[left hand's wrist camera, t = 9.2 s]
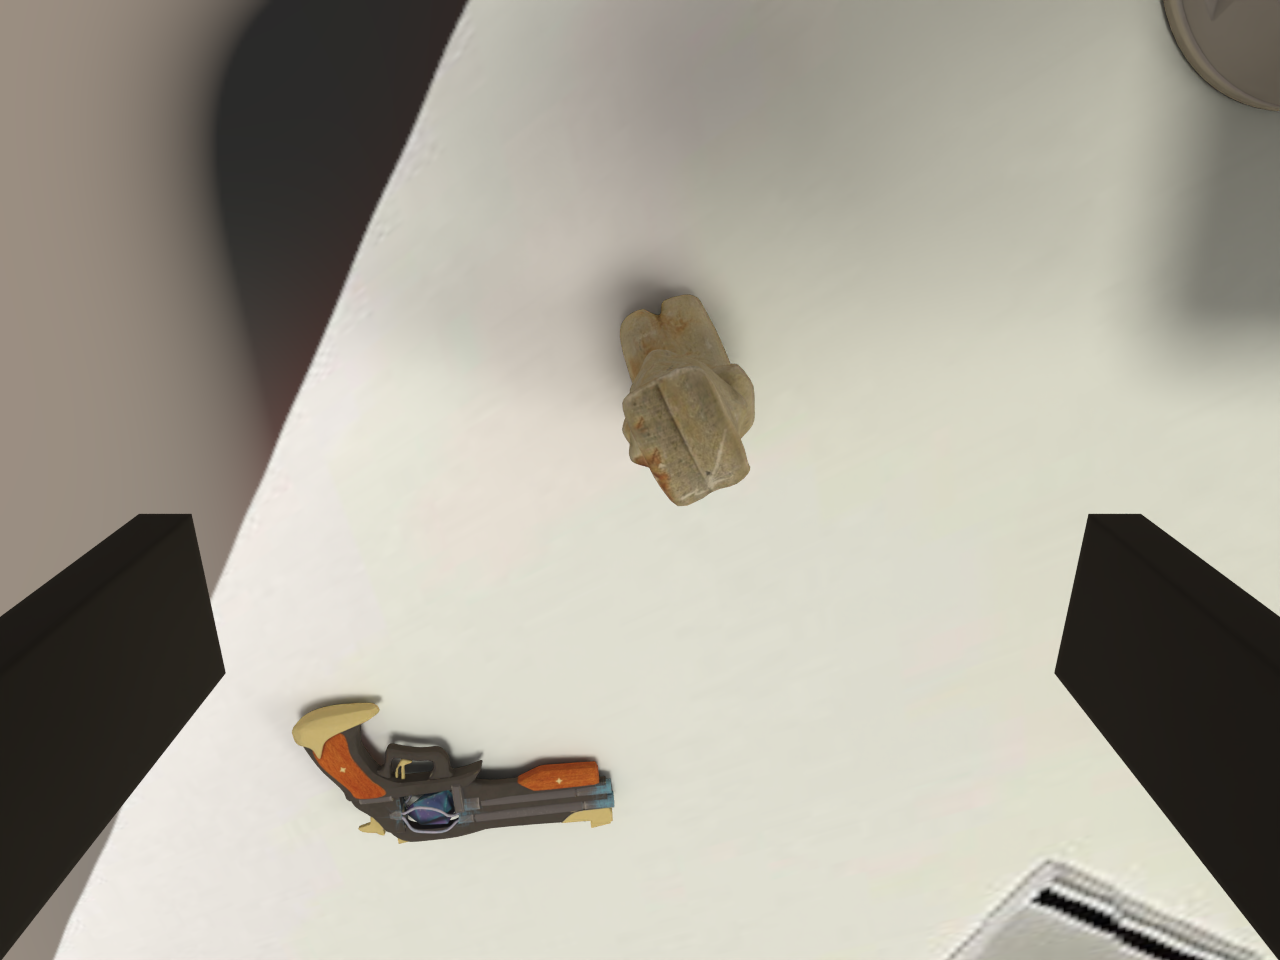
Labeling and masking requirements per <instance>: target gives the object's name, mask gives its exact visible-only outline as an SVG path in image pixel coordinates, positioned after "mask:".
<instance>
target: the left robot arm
mask: <svg viewBox="0 0 1280 960" xmlns="http://www.w3.org/2000/svg"><path fill="white" fill-rule="evenodd" d="M1163 2H1164V7H1165V12H1166V15H1167V18H1168V22H1169V25H1170V28H1171V31H1172V33H1173V35H1174V37H1175V40H1176V42H1177V44H1178V46H1179V48H1180V49H1181V51H1182V53H1183V54H1184V56H1185V58H1186V59H1187V60H1188V62H1189V63H1190V64H1191V66H1192V67H1193V68H1194V70H1195V71H1196V72H1197V73H1198V74H1199V75H1200V76H1201V77H1202V78H1203V79H1204V80H1205V81H1206V82H1208V83H1209V84H1210V85H1211V86H1213V87H1214V88H1215V89H1216V90H1218V91H1220V92H1221V93H1223V94H1225V95H1226V96H1228V97H1230V98H1232V99H1234V100H1236V101H1239V102H1241V103H1243V104H1246V105H1250V106H1253V107H1256V108H1261V109H1267V110H1273V111H1280V0H1163ZM224 675H225V668H224V663H223V659H222V654H221V649H220V645H219V640H218V635H217V631H216V626H215V621H214V617H213V612H212V607H211V603H210V598H209V593H208V589H207V584H206V579H205V575H204V570H203V565H202V561H201V556H200V551H199V547H198V542H197V537H196V533H195V528H194V523H193V519H192V514H138V515H137V516H136V517H134V518H133V519H132V520H130V521H129V522H128V523H126V524H125V525H124V526H122V527H121V528H119V529H118V530H117V531H115V532H114V533H113V534H111V535H110V536H109V537H107V538H106V539H105V540H103V541H102V542H101V543H99V544H98V545H97V546H95V547H94V548H93V549H91V550H90V551H89V552H87V553H86V554H84V555H83V556H82V557H80V558H79V559H78V560H76V561H75V562H74V563H72V564H71V565H70V566H68V567H67V568H66V569H64V570H63V571H61V572H60V573H59V574H57V575H56V576H55V577H53V578H52V579H51V580H49V581H48V582H47V583H45V584H44V585H43V586H41V587H40V588H39V589H37V590H36V591H34V592H33V593H32V594H30V595H29V596H28V597H26V598H25V599H24V600H22V601H21V602H20V603H18V604H17V605H16V606H14V607H13V608H12V609H10V610H9V611H7V612H6V613H5V614H3V615H2V616H1V617H0V960H2V959H3V957H4V956H5V955H6V953H7V952H8V951H9V950H10V948H11V947H12V946H13V945H14V943H15V942H16V941H17V939H18V938H19V937H20V936H21V934H22V933H23V932H24V930H25V929H26V928H27V927H28V925H29V924H30V923H31V921H32V920H33V919H34V918H35V916H36V915H37V914H38V913H39V911H40V910H41V909H42V907H43V906H44V905H45V903H46V902H47V901H48V900H49V898H50V897H51V896H52V895H53V893H54V892H55V891H56V890H57V888H58V887H59V886H60V884H61V883H62V882H63V881H64V879H65V878H66V877H67V875H68V874H69V873H70V872H71V870H72V869H73V868H74V866H75V865H76V864H77V863H78V861H79V860H80V859H81V857H82V856H83V855H84V854H85V852H86V851H87V850H88V849H89V847H90V846H91V845H92V843H93V842H94V841H95V840H96V838H97V837H98V836H99V834H100V833H101V832H102V831H103V829H104V828H105V827H106V826H107V824H108V823H109V822H110V820H111V819H112V818H113V817H114V815H115V814H116V813H117V811H118V810H119V809H120V808H121V806H122V805H123V804H124V802H125V801H126V800H127V799H128V797H129V796H130V795H131V794H132V792H133V791H134V790H135V788H136V787H137V786H138V785H139V783H140V782H141V781H142V779H143V778H144V777H145V776H146V774H147V773H148V772H149V770H150V769H151V768H152V767H153V765H154V764H155V763H156V762H157V760H158V759H159V758H160V756H161V755H162V754H163V753H164V751H165V750H166V749H167V747H168V746H169V745H170V744H171V742H172V741H173V740H174V739H175V737H176V736H177V735H178V733H179V732H180V731H181V730H182V728H183V727H184V726H185V724H186V723H187V722H188V721H189V719H190V718H191V717H192V715H193V714H194V713H195V712H196V710H197V709H198V708H199V707H200V705H201V704H202V703H203V701H204V700H205V699H206V698H207V696H208V695H209V694H210V692H211V691H212V690H213V689H214V687H215V686H216V685H217V683H218V682H219V681H220V680H221V678H222V677H223V676H224ZM1055 675H1056V676H1057V677H1058V678H1059V680H1060V681H1061V682H1062V683H1063V685H1064V686H1065V687H1066V689H1067V690H1068V691H1069V692H1070V694H1071V695H1072V696H1073V698H1074V699H1075V700H1076V701H1077V703H1078V704H1079V705H1080V707H1081V708H1082V709H1083V710H1084V712H1085V713H1086V714H1087V715H1088V717H1089V718H1090V719H1091V721H1092V722H1093V723H1094V724H1095V726H1096V727H1097V728H1098V730H1099V731H1100V732H1101V733H1102V735H1103V736H1104V737H1105V739H1106V740H1107V741H1108V742H1109V744H1110V745H1111V746H1112V747H1113V749H1114V750H1115V751H1116V753H1117V754H1118V755H1119V756H1120V758H1121V759H1122V760H1123V762H1124V763H1125V764H1126V765H1127V767H1128V768H1129V769H1130V771H1131V772H1132V773H1133V774H1134V776H1135V777H1136V778H1137V779H1138V781H1139V782H1140V783H1141V785H1142V786H1143V787H1144V788H1145V790H1146V791H1147V792H1148V794H1149V795H1150V796H1151V797H1152V799H1153V800H1154V801H1155V802H1156V804H1157V805H1158V806H1159V808H1160V809H1161V810H1162V811H1163V813H1164V814H1165V815H1166V817H1167V818H1168V819H1169V820H1170V822H1171V823H1172V824H1173V826H1174V827H1175V828H1176V829H1177V831H1178V832H1179V833H1180V834H1181V836H1182V837H1183V838H1184V840H1185V841H1186V842H1187V843H1188V845H1189V846H1190V847H1191V849H1192V850H1193V851H1194V852H1195V854H1196V855H1197V856H1198V858H1199V859H1200V860H1201V861H1202V863H1203V864H1204V865H1205V866H1206V868H1207V869H1208V870H1209V872H1210V873H1211V874H1212V875H1213V877H1214V878H1215V879H1216V881H1217V882H1218V883H1219V884H1220V886H1221V887H1222V888H1223V890H1224V891H1225V892H1226V893H1227V895H1228V896H1229V897H1230V898H1231V900H1232V901H1233V902H1234V904H1235V905H1236V906H1237V907H1238V909H1239V910H1240V911H1241V913H1242V914H1243V915H1244V916H1245V918H1246V919H1247V920H1248V921H1249V923H1250V924H1251V925H1252V927H1253V928H1254V929H1255V930H1256V932H1257V933H1258V934H1259V936H1260V937H1261V938H1262V939H1263V941H1264V942H1265V943H1266V945H1267V946H1268V947H1269V948H1270V950H1271V951H1272V952H1273V953H1274V955H1275V956H1276V957H1277V959H1278V960H1280V617H1279V616H1278V615H1277V614H1275V613H1274V612H1273V611H1271V610H1270V609H1268V608H1267V607H1266V606H1264V605H1263V604H1262V603H1260V602H1259V601H1258V600H1256V599H1255V598H1254V597H1252V596H1251V595H1250V594H1248V593H1247V592H1246V591H1244V590H1243V589H1241V588H1240V587H1239V586H1237V585H1236V584H1235V583H1233V582H1232V581H1231V580H1229V579H1228V578H1227V577H1225V576H1224V575H1223V574H1221V573H1220V572H1219V571H1217V570H1216V569H1214V568H1213V567H1212V566H1210V565H1209V564H1208V563H1206V562H1205V561H1204V560H1202V559H1201V558H1200V557H1198V556H1197V555H1196V554H1194V553H1193V552H1192V551H1190V550H1189V549H1187V548H1186V547H1185V546H1183V545H1182V544H1181V543H1179V542H1178V541H1177V540H1175V539H1174V538H1173V537H1171V536H1170V535H1169V534H1167V533H1166V532H1165V531H1163V530H1162V529H1161V528H1159V527H1158V526H1156V525H1155V524H1154V523H1152V522H1151V521H1150V520H1148V519H1147V518H1146V517H1144V516H1143V515H1142V514H1088V519H1087V523H1086V528H1085V533H1084V537H1083V542H1082V547H1081V551H1080V556H1079V561H1078V565H1077V570H1076V575H1075V579H1074V584H1073V589H1072V593H1071V598H1070V603H1069V607H1068V612H1067V617H1066V621H1065V626H1064V631H1063V635H1062V640H1061V645H1060V649H1059V654H1058V659H1057V663H1056V668H1055Z"/></svg>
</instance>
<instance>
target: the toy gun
mask: <svg viewBox="0 0 1280 960" xmlns="http://www.w3.org/2000/svg"><path fill="white" fill-rule="evenodd" d="M378 712H379V708H378V706H377V705H375V704H373V703H352V704H338V705H331V706H327V707H323V708H319V709H316V710H313V711H311V712H310V713H308V714H306V715H305V716H303V717H302V718H301V719H300V720H299V721H298V722H297V723H296V725H295V726H294V727H293V730H292V734H293V738H294V740H295V742H296V743H297V744H298V745H300V746H303V747H304V748H305V750H306V751H307V753H308V754H309V756H310V757H311V758H312V760H313V761H314V762H315V764H316V765H317V766H318V767H319V768H320V770H321V771H322V772H323V773H324V774H325V775H326V776H328V777H329V778H330V779H331V780H332V781H333V782H334V783H335V784H336V785H337V786H339V787H340V788H341V790H342V791H343V792H344V794H345V796H346V799H347V800H349V801H352V803H353V804H354V806H355V807H356V808H358V809H359V810H361V811H362V812H364V813H366V814H368V815H369V816H371V822H369V823H366V824H363V825H361V826H359V828H358V829H359V830H360V831H362V832H367V833H378V834H380V835H385V832H386V831H387V832H390V833H392V834H393V835H394V836H396V837H397V838H398V842H399V844H400V843H405V842H417V841H427V840H437V839H446V838H453V837H459V836H463V835H467V834H471V833H474V832H478V831H481V830H484V829H489V828H498V827H507V826H518V825H530V824H543V823H557V822H561V823H567V822H578V821H591V828H593V827H597V826H601V825H605V824H609V823H611V822H610V821H613V819H612V807H614V795H613V791H612V789H611V779H610V778H608V779H606V777H605V776H599V772H598V765H597V764H596V762H595V761H592V762H576V763H563V764H549V765H541V766H538V767H536V768H534V769H532V770H529V771H527V772H525V773H523V774H521V775H519V776H518V777H516V778H506V779H496V780H489V779H478V778H476V777H477V775H478V774H479V772H480V770H481V766H482V760H480V761H477V762H475V763H472V764H470V765H467V766H463V767H459V768H454V769H453V768H452V767H451V765H450V758H449V755H448V754H447V752H446V751H445V750H444V749H443V748H441V747H439V746H432V747H409V746H403V745H398V744H389V745H388V747H387V749H386V759H385V764H383V765H381V766H380V765H379V764H377V763H376V762H375V761H374V760H373V758H372V757H371V756H370V754H369V753H368V752H367V750H366V749H365V747H364V746H363V744H362V741H361V735H360V726H361V724H362V723H364V722H366V721H368V720H369V719H371V718H372V717H373V716H375V715H376V714H377V713H378ZM394 758H401V761H400V762H399V764H398V766H397V768H396V772H393V771H392V764H391V762H392V760H393V759H394ZM412 760H415V761H424V760H430V761H432V762H433V763H434V768H433V770H432V771H429V772H420V773H410V774H405V768H404V766H405V765H406V764H409V763H412ZM399 766H401V774H399V773H398V768H399ZM451 789H452V791H450V790H451ZM420 794H424V795H423V796H422V797H421V798H419V799H418V800H417V801H415V802H414V803H413V804H412V805H411V806H409V805H407V804H406V803H407V802H408V801H409V800H410V798H411V797H412V795H420ZM404 796H409V797H408V799H407V800H405V799H404ZM406 808H407V809H406ZM454 811H455V813H454ZM453 813H454V814H453ZM407 814H408V815H409V816H410V817H412V818H413V819H414V820H415V821H417V822H414V821H411V820H409V819H408V816H407ZM456 815H459V817H458V818H456V819H454V820H450V819H451V817H453V816H456ZM385 830H386V831H385Z"/></svg>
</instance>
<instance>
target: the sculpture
mask: <svg viewBox="0 0 1280 960" xmlns="http://www.w3.org/2000/svg"><path fill="white" fill-rule="evenodd" d="M620 340H621V345H622V350H623V354H624V358H625V361H626V364H627V368H628V371H629V374H630V378H631V380H632V383H633V384H632V386H631V389H630V394H628V395H627V396H626V398H625V399H624V400H623V403H622V404H623V411H624V415H625V420H624V423H623V428H622V431H623V434H624V436H625V438H626V439H627V441H628V442H629V443H630V447H629V456H630V459H631V461H632V462H634V463H636V464H639V465H642V466H646V467H649V468H650V470H651V472H652V474H653V476H654V478H655V479H656V481H657V482H658V484H659V485H660V487H661V489H662V490H663V491H664V493H665V494H666V495H667V497H668V498H669V499H670V500H671V501H672V502H673V503H674V504H676V505H677V506H687V505H689V504H692V503H694V502H696V501H698V500H700V499H702V498H704V497H705V496H707V495H708V494H709V493H711V492H713V491H716V490H718V489H721V488H725V487H729V486H732V485H735V484H737V483H738V482H740V481H741V480H742V479H744V478H745V476H746V475H747V474H748V472H749V471H750V466H749V464H748V461H747V457H746V453H745V449H744V446H743V444H742V441H741V438H742V437H743V436H744V435H745V434H746V433H747V431H748V430H749V429H750V428H751V426H752V425H753V422H754V418H755V405H754V388H753V384H752V382H751V380H750V379H749V377H748V376H747V374H746V373H745V371H744V370H743V369H742V368H741V367H740V366H739V365H737V364H730V362H729V359H728V357H727V354H726V352H725V350H724V347H723V345H722V342H721V340H720V338H719V336H718V334H717V332H716V329H715V327H714V325H713V324H712V322H711V320H710V318H709V316H708V314H707V312H706V311H705V309H704V307H703V305H702V303H701V302H700V300H699V299H698V298H697V297H695V296H693V295H681V296H676V297H672V298H669V299H667V300H665V301H663V303H662V306H661V314H660V315H655V314H653V313H651V312H649V311H647V310H645V309H642V310H638V311H635V312H633V313H631V314H630V315H628V316H627V317H626V318H625V320H624V321H623V323H622V325H621V328H620Z"/></svg>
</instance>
